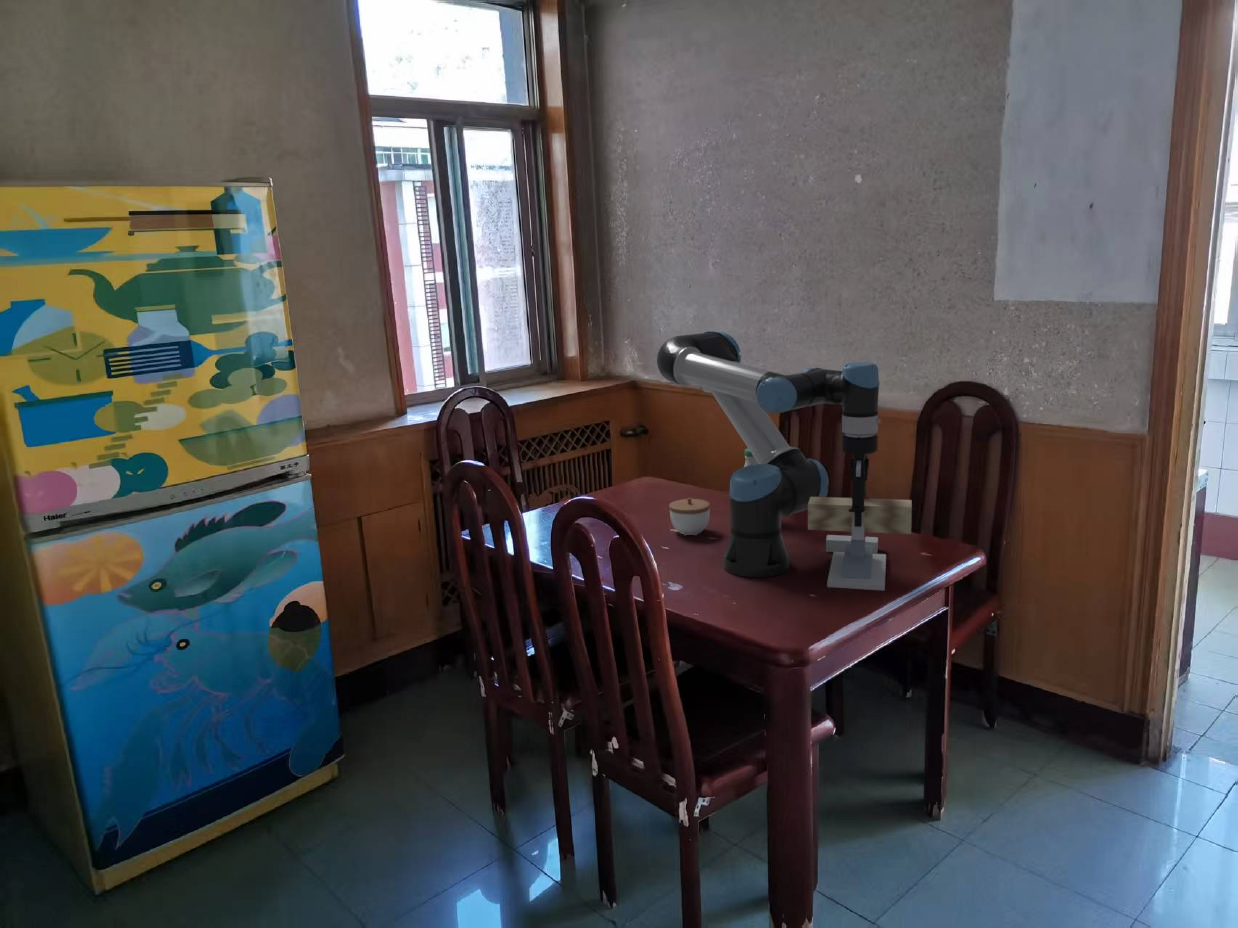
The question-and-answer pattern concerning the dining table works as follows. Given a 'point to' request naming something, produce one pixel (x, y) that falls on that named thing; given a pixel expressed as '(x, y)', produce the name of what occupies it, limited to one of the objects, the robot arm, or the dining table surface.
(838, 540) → the slab
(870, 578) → the fulcrum stand
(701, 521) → the lidded jar
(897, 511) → the pine batten
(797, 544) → the dining table surface
